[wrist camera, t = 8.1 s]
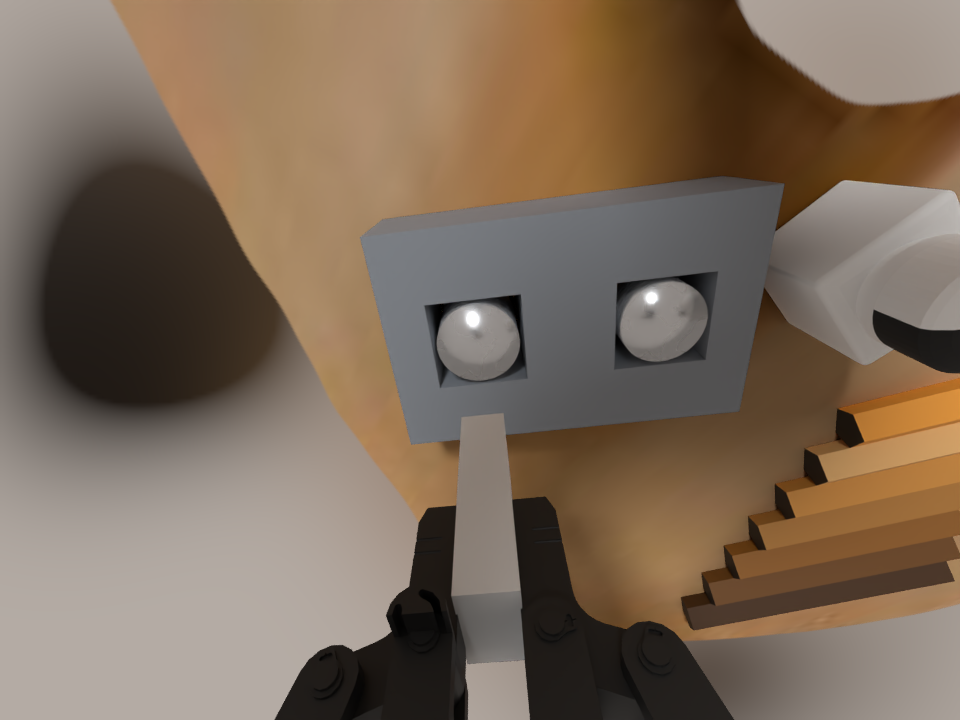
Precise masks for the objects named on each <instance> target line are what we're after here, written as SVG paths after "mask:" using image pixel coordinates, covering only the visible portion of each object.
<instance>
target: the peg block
mask: <svg viewBox="0 0 960 720" xmlns="http://www.w3.org/2000/svg"><path fill="white" fill-rule="evenodd" d="M783 189H784V183H776V182H768V181H760V180H752V179H744V178H736V177H728V176H718V177H710V178H702V179H694V180H686V181H679V182H671V183H663V184H655V185H647V186H640V187H632V188H624V189H616V190H608V191H601V192H593V193H585V194H577V195H569V196H561V197H554V198H546V199H538V200H530V201H522V202H515V203H507V204H499V205H491V206H483V207H476V208H468V209H460V210H452V211H444V212H436V213H429V214H421V215H413V216H405V217H397V218H390V219H383V220H381V221H380V222H379V223H377V224H376V225H375V226H374V227H372V228H371V229H370V230H369V231H367V232H366V233H365V234H364V235H362V236H361V237H360V239H361V243H362V247H363V251H364V255H365V259H366V263H367V267H368V271H369V276H370V280H371V284H372V288H373V292H374V296H375V300H376V304H377V308H378V312H379V316H380V320H381V324H382V328H383V332H384V336H385V340H386V344H387V348H388V353H389V357H390V361H391V365H392V369H393V373H394V377H395V381H396V385H397V389H398V393H399V397H400V401H401V405H402V409H403V413H404V417H405V421H406V425H407V430H408V434H409V438H410V442H411V444H421V443H431V442H441V441H451V440H460V434H461V417H468V416H478V415H489V414H499V413H503V414H504V423H505V432H506V435H511V434H521V433H531V432H541V431H551V430H561V429H571V428H581V427H591V426H601V425H610V424H620V423H630V422H640V421H650V420H660V419H670V418H680V417H690V416H700V415H710V414H720V413H730V412H739V410H740V405H741V400H742V395H743V390H744V385H745V380H746V375H747V370H748V365H749V360H750V355H751V350H752V345H753V340H754V335H755V330H756V325H757V320H758V315H759V310H760V305H761V300H762V295H763V290H764V285H765V280H766V275H767V270H768V265H769V260H770V255H771V250H772V245H773V240H774V235H775V230H776V224H777V219H778V214H779V209H780V204H781V199H782V194H783ZM672 276H676V277H678V278H679V279H681V280H682V281H684V282H685V283H687V284H688V285H690V286H691V287H693V288H694V289H696V290H697V291H698V292H699V293H700V294H701V295H702V297H703V298H704V300H705V302H706V305H707V311H708V318H707V323H706V327H705V329H704V331H703V333H702V335H701V337H700V338H699V340H698V341H697V342H696V343H695V344H694V345H693V346H692V347H691V348H690V349H689V350H688V351H686V352H685V353H683V354H682V355H680V356H678V357H675V358H673V359H670V360H666V361H658V362H654V361H646V360H643V359H640V358H638V357H636V356H635V355H633V354H632V353H631V352H630V351H629V350H628V349H627V348H626V346H625V345H624V344H623V342H622V341H621V340H620V338H619V337H618V335H617V334H616V333H615V329H616V297H617V283H621V282H630V281H638V280H647V279H655V278H664V277H672ZM510 295H516V307H517V319H518V330H519V338H520V348H519V353H518V356H517V358H516V360H515V361H514V363H513V364H512V366H511V367H510V368H509V369H508V370H507V371H505V372H504V373H503V374H501V375H499V376H497V377H495V378H492V379H488V380H481V381H476V380H468V379H465V378H462V377H459V376H457V375H456V374H454V373H453V372H451V371H450V370H449V369H448V368H447V367H446V366H445V365H444V364H443V362H442V360H441V359H440V356H439V354H438V350H437V336H438V331H439V326H440V321H441V315H440V309H439V304H442V303H450V302H459V301H467V300H476V299H484V298H493V297H502V296H510Z"/></svg>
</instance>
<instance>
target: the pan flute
mask: <svg viewBox="0 0 960 720" xmlns="http://www.w3.org/2000/svg"><path fill="white" fill-rule="evenodd" d="M836 433H837V434H838V435H839V436H840V438H841V440H837V441H833V442H828V443H824V444H820V445H816V446H812V447H808V448H805V451H804V470H805V471H806V473H807V474H808V476H807V477H803V478H798V479H794V480H790V481H785V482H781V483H777V484H775V504H776V505H777V507H778V508H779V510H774V511H770V512H765V513H761V514H756V515H751V516H748V523H749V534H750V536H751V538H752V540H748V541H743V542H739V543H734V544H729V545H725V546H724V554H725V562H726V564H727V566H728V567H726V568H721V569H716V570H711V571H707V572H702V580H703V587H704V590H705V593H700V594H695V595H690V596H685V597H681V600H682V606H683V611H684V614H685V616H686V619H687V621H688V624H689V626H690V628H692V629H693V630H699V629H704V628H709V627H714V626H720V625H725V624H730V623H736V622H741V621H746V620H751V619H757V618H762V617H767V616H773V615H778V614H783V613H789V612H794V611H799V610H804V609H810V608H815V607H820V606H826V605H831V604H836V603H841V602H847V601H852V600H857V599H863V598H868V597H873V596H879V595H884V594H889V593H894V592H900V591H905V590H910V589H916V588H921V587H926V586H932V585H937V584H942V583H947V582H953V581H955V580H954V578H953V576H952V573H951V571H950V569H949V567H948V564H947V562H946V561H949V560H954V559H959V558H960V553H959V550H958V548H957V546H956V544H955V541H954V539H953V537H952V536H957V535H960V511H959V510H960V378H958V379H954V380H950V381H946V382H942V383H938V384H934V385H930V386H926V387H922V388H918V389H914V390H910V391H906V392H902V393H898V394H894V395H890V396H886V397H882V398H878V399H874V400H870V401H866V402H862V403H858V404H854V405H850V406H846V407H842V408H838V409H837V421H836Z"/></svg>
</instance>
